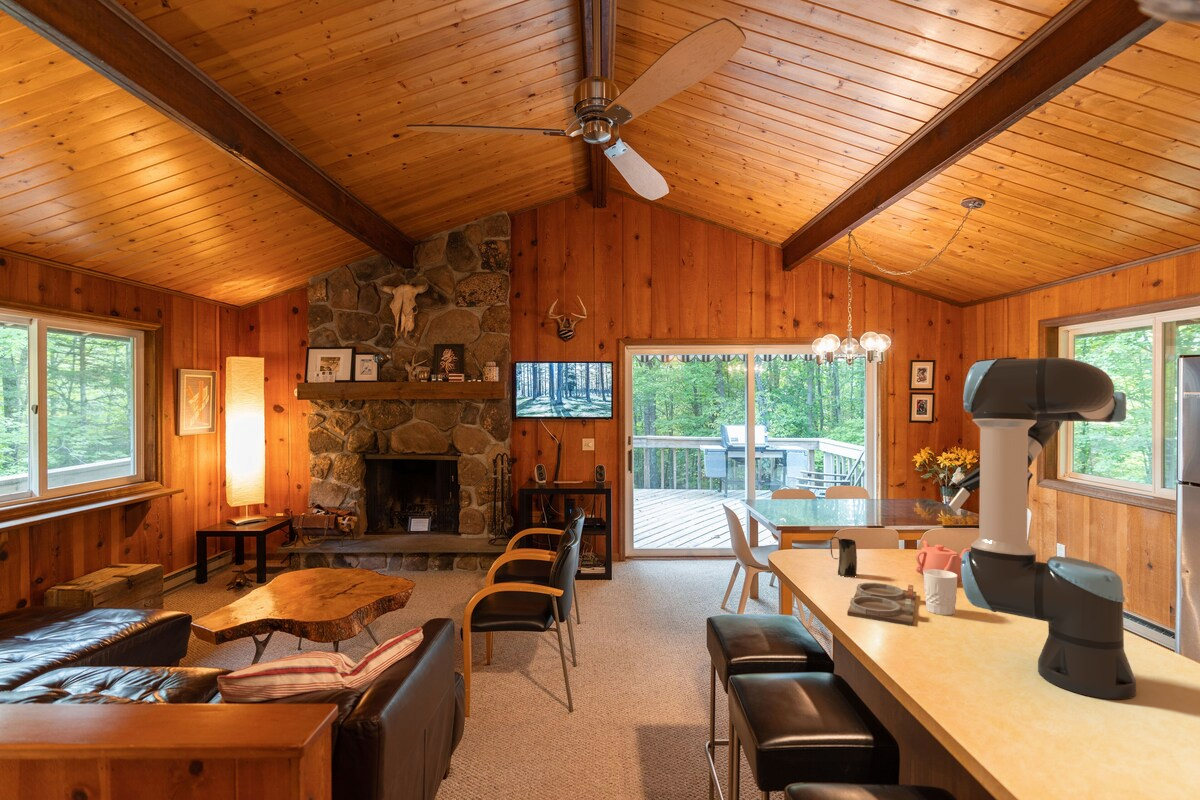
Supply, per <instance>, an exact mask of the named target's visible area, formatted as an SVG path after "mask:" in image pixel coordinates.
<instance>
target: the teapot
mask: <svg viewBox="0 0 1200 800" xmlns="http://www.w3.org/2000/svg"><path fill="white" fill-rule="evenodd" d="M922 543H923V547H922V548H921V550H919V551H917V552H916V554H915V560H916V563H917V566H916V567H915V571H916V572H917V573H918V574H920V575H921V576H922V578H923V579H924V575H923V571H924V570H929V569H936V570H944V571H949V572H953V573H955V574H957V583H958V582H962V575H961V565H962V555H963V553H964V552H967V551H971V547H967V548H964V549H962V551H961V553H960V556H959V554H958V552H956V551H954V550H952V549H950V548H948V547H945V545H943V544H935V545H934V546H930V544H929V542H927V540H925V539H923V540H922Z"/></svg>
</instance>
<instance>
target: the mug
mask: <svg viewBox="0 0 1200 800" xmlns="http://www.w3.org/2000/svg"><path fill="white" fill-rule="evenodd" d="M834 539H838V550H839V551H838V554H839V555H838V556H839V557H838V558H836V557H834V556H833V546H832V543H833V542H832V541H833V540H834ZM829 543H830V544H829V545H830V547H829V548H830V555H831V557H832V559H833V560H838V569H837V575H838V576H839V575H840V577H842V576H844V577H843V578H848V577H853V578H856V577H857V571H858V555H857V544H856V541H855V540H854V539H851V538H850V539H849V538H839V537H837V536H832V537H831V538H830V540H829ZM855 576H856V577H855Z"/></svg>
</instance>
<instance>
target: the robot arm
mask: <svg viewBox="0 0 1200 800" xmlns="http://www.w3.org/2000/svg"><path fill="white" fill-rule="evenodd" d="M962 396H963V397H962V400H963V409H964V411H965V412H966V413H969V414H972V420H971V421H972V422H973V423H975V425H977V427H978V428H979V429H980V433H979V434H980V435H979V439H980V441H979V443H980V446H979V467H978V468H976V469H974V470H973V471H972V472H970V473H969V474H967V475H966V476H964V477H963V478H962V479H960V480H958V481H957V482H956V485H957V487H959V489H958V491H957V492H956V494H954V497H953V499H952V500H951V501H950V503H948V506H949V508H950V509H951V510H952V511H953V512H956V513H957V512H958V511H959V510H960V508H961V507H962V505H964V503H965V502H966V501H967V499H968V498H969V496H971V494H970V493H971V492H973V491H974V490H977V489H979V515H978V516H979V518H978V519H979V525H978V526H979V527H978V534H979V536H978V538H977V539H976V540H974V542H971V543H970V548H971V550H970V551H967V552H964V553H963V555H962V565H961V575H962V580H961V582H962V587H963V591H964V594H965V596H966V598H967V600H968V602H969V603H970V604H971V605H972V606H974V607H975V608H981V609H985V610H988V611H991V612H993V613H997V612H998V613H1001V614H1002V613H1003V614H1006V615H1012V616H1013V615H1014V616H1017V617H1022V618H1027V619H1033V620H1038V621H1041V622H1042V621H1043V622H1047V623H1048V635H1047V638H1046V641H1045V642H1044V644H1043V647H1042V650H1041V652H1040V654H1039V657H1038V660H1037V673H1038V674H1039V676H1041V677H1042V678H1043V679H1044V680H1045V681H1047V682H1049V683H1051V684H1052V685H1054V686H1057V687H1059V688H1061V689H1064V690H1066V691H1067V690H1068V691H1071V692H1074V693H1076V694H1080V695H1085V696H1089V697H1093V698H1099V699H1107V700H1128V699H1131V698H1134V697H1135V696H1136V695H1137V681H1136V680H1137V679H1136V677H1135V675H1134V672H1133V670H1132V667H1131V664H1130V663H1129V659H1128V657H1127V655H1126V652H1125V643H1124V641H1125V637H1124V635H1125V634H1124V633H1125V632H1124V630H1125V629H1124V626H1125V625H1124V602H1126V598H1125V597H1126V596H1125V595H1124V585H1123V580H1122V578H1121V576H1120V575H1119V574H1118V573H1117V572H1116V571H1114V570H1112V569H1110V568H1108V567H1105V566H1103V565H1101V564H1097V563H1095V562H1091V561H1087V560H1083V559H1079V558H1074V557H1069V556H1066V557H1064V556H1058V555H1056V556H1050V557H1049V558H1048V560H1047V561H1046V562H1041V561H1037V560H1036V559H1037V558H1036V556H1037V552H1036V550H1035V549H1033V548H1032V547H1031V546H1030V545H1029V543H1028V494H1029V489H1030V488H1029V487H1030V481H1031V479H1032V477H1033V476H1034V474H1033V473H1032V471H1030V470H1029V468H1030V467H1031V466H1032V464H1033V462H1034V461H1035V460H1036V459H1037V457H1039V455H1040V453H1041V452H1042V451H1043V450H1044V448H1045V447H1046V446H1047V444H1049V442H1050V441H1051V440H1052V438H1053V437H1054V436H1055V434H1056V433H1058V431H1060V428H1061V427H1062V425H1063V423H1064V422H1089V423H1090V422H1095V423H1096V422H1097V423H1121V422H1124V421H1125V420H1126V418H1127V395H1126V393H1124V392H1122V391H1115V385H1114V382H1113V380H1112V379H1111V377H1110V376H1109V374H1108V373H1107V372H1105V371H1104V370H1102V369H1101V368H1099V367H1097V366H1095V365H1093V364H1090V363H1088V362H1084V361H1081V360H1076V359H1071V358H1065V357H1044V358H1043V357H1038V358H1001V359H1000V358H999V359H997V358H995V359H990V360H981V361H977V362H975V363H974V364H973V365H971V367H970V368H969V371H968V373H967V376H966V379H965V382H964V388H963V395H962Z"/></svg>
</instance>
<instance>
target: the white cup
mask: <svg viewBox="0 0 1200 800" xmlns="http://www.w3.org/2000/svg"><path fill="white" fill-rule="evenodd" d="M923 575H924V576H923V577H924V578H923V589H924V590H923V592H924V599H925V609H926V611H928V612H929V613H932V614H935V613H936V614H935V615H939V614H941V615H940V616H953V615H955V614H956V604H957V595H958V582H957V574H955V573H953V572H949V571H944V570H936V569H929V570H924V571H923ZM954 613H955V614H954ZM952 614H953V615H952Z"/></svg>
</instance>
